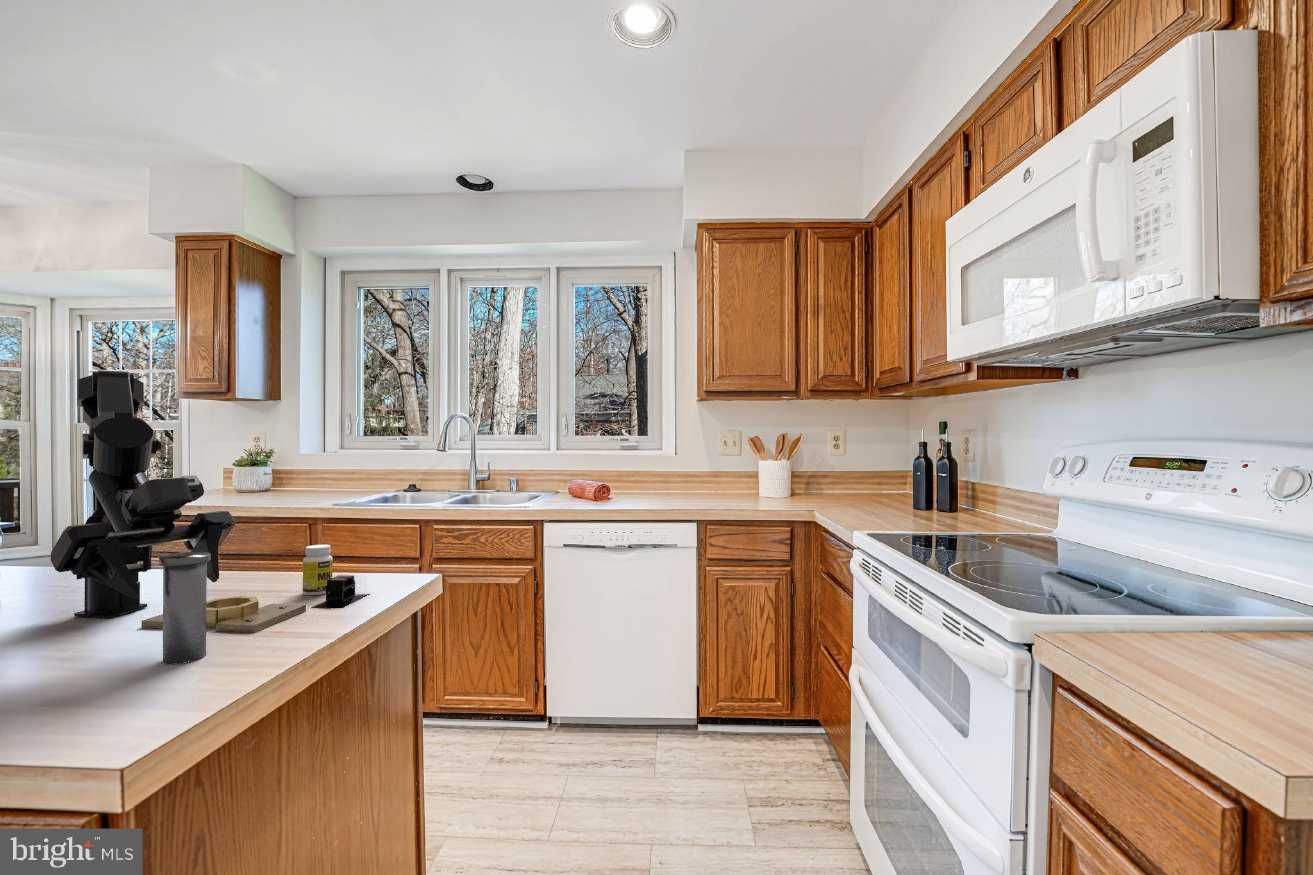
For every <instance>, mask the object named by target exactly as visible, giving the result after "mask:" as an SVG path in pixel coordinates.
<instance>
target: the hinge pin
mask: <svg viewBox="0 0 1313 875" xmlns="http://www.w3.org/2000/svg"><path fill="white" fill-rule="evenodd" d="M210 560H211V553H208V552H191V551H190V552H189V551H188V552H180V553H172V554H167V555H163V556H160V557H159V558H158V565H159V566H161V567H163V571H162V580H163V581H162V614H163V628H162V663H163V664H165V663H167V664H166V665H175V664H174V663H181V664H185V663H184V662H187V663H191V662H190V661H192V662H194V660H195V661H198V660H201V659H203V658H205V657H206V656H207V627H206V602H207V601H208V600H207V593H208V592H207V589H208V587H207V585H208V582H207V580H208V579H207V562H208V561H210ZM204 656H205V657H204ZM200 658H201V659H200ZM188 661H189V662H188Z"/></svg>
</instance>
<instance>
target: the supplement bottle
mask: <svg viewBox="0 0 1313 875" xmlns="http://www.w3.org/2000/svg"><path fill="white" fill-rule="evenodd" d="M331 547H332V546H331V545H330V544H314V545H307V546H305V557H304V558H303V560H302V594H303V595H304V596H320V595H321V596H323V595H326V586H327V580H328V579H331V578H333V566H334V565H333V556H332V555H330V554H331V552H332V548H331ZM328 593H329V592H328Z"/></svg>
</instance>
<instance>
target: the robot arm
mask: <svg viewBox="0 0 1313 875" xmlns="http://www.w3.org/2000/svg"><path fill="white" fill-rule="evenodd" d="M76 383H77V384H76V385H77V386H76V389H77V390H76V407H77V408H78V407H79V408H82V421H83V422H84V423H85V424H86V425H87V426H88V433H82V436H81V438H82V440H81V442H82V443H81V448H82V450H81V451H82V452H81V456H82V460H83V459H85V460H88V465H89V467H91V468H92V467H93V468H94V470H92V471H91V472H90V474H89V476H88V482H89V484H90V486H91V488H92V489H93V492H94V493H95V494H94V495H95V511H94V512H93V513H92V514H91V515H90V516H89V517H88V518H87V520H85V523H84V524H75V525H73V524H72V525H68V526H67V527H66V528H64V530H63V531H62V533H61V534H60V535H59V538H58V539H57V542H55V544H54V547H53V548H52V550H51V552H50V562H51V564H52V566H53V568H54V570H55V571H56V572H58V573H64V572H65V573H66V572H71V574H72V575H74V576H75V577H76V580H81V579H84V599H83V601H84V605H83V606H84V608H83V609H84V610H80V611H77V612H73V616H74V617H85V618H114V617H117V616H121V615H124V614H126V613H131V612H134V611H138V610H140V609H144V608H147V607H148V603H141V582H140V580H139V579H140V578H139V576H140V575H139V574H140V573H146V572H148V571H150V570H152V557H153V556H152V555H153V554H152V553H153V547H154V546H159V545H166V544H173V543H181V542H182V543H183V544H184V546H185V547H186V549H187V550H190V552H208V553H211V560H210V561H208V562H207V578H208V579H209V580H210V581H211V582H212V583H216V582H218V580H219V578H220V563H219V548H220V547H221V545H222V544H223V542H224V541H225V540H226V539H227V537H228V535H229V534H230V532H231V531H232V530H233V528H234V527H235V525H236V524H237V522H236V520H235V519H234V517H233V515H232V514H231V513H230V511H228V510H218V511H207V512H198V513H197V514H196V515H195V517H194V518H193V520H192V521H191V523H190V524H187V525H178V526H175V523H174V521H176V520H179V519H180V518H181V516H182V515H183V512H182V510H181V508H183V507H184V506H185V505H187V504H191V503H192V502H195V501H197V500H198V499H200V498H201V497H203V496H204V493H205V489H204V486H203V483H202V481H201V480H200V479H199V477H198V476H197V475H194V474H193V475H182V476H181V477H170V478H166V477H165V478H155V479H154V478H153V479H150V478H148V476H147V474H146V472H147V471H148V469H149V467H150V464H151V459H153V458H154V457H155V456H156V454H157V452H158V451H162V441H161V440H159V439H157V437H156V436H155V435H154V429H153V428H152V427H151V425H149V424H148V423H147V422H146V421H145V420H144V419H143V418H139V417H138V413H139V409H140V410H141V409H143V407H144V404H145V383H144V382H143V381H141V380H140V379H137V378H135V375H134V373H130V372H129V371H120V370H119V371H118V370H117V371H116V370H104V369H103V370H102V369H101V370H100V369H99V370H97V371H94V370H93V371H92V374H91V375H88V376H83V377H81V378H79V379H78V378H77V380H76ZM138 562H139V563H138ZM208 579H207V580H208Z"/></svg>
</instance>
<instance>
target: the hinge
mask: <svg viewBox="0 0 1313 875" xmlns="http://www.w3.org/2000/svg"><path fill="white" fill-rule="evenodd" d="M259 601H260V600H259V599H258V598H257V596H248V595H247V596H245V595H244V596H243V595H238V596H228V597H220V598H213V599H210V600H207V602H206V628H216V629H215V630H216V631H217V632H218V631H219V632H235V633H237V632H238V633H239V632H240V633H256V632H258V631H261V630H263V629H266V628H268V627H271V626H273V625H275V624H278V623H280V622H283V621H285V620H287V619H290V618H292V617H293V618H294V617H295V616H298V615H300V614H302V613H304V612H306V611H307V610H306V609H307V606H306V604H289V603H270V604H266V605H264V606H262V607H259ZM140 623H141V624H140V625H141V627H140V628H142V629H143V628H145V629H147V628H148V629H163V613H162V614H159V615H156V616H152V617H149V618H146V619H143V620H141V621H140Z"/></svg>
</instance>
